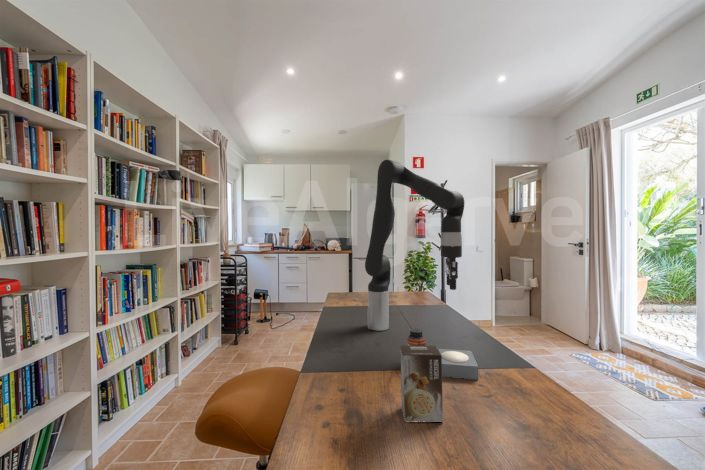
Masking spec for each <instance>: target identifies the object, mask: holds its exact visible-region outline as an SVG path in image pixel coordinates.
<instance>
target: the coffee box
mask: <svg viewBox="0 0 705 470" xmlns="http://www.w3.org/2000/svg"><path fill="white" fill-rule="evenodd" d="M438 349H439V348H437V346H436V345H425V346H408V345H405V344H403V345H401V344H400V393H401V395H400V397H401V401H400V402H401V403H400V404H401V406H400V407H402V408H401V412H403V413H402V417H404V418H403V421H404V420H405V421H418V422H419V421H420V422H423V421H425V422H443V423H444V411H443V410H444V409H443V405H444V404H443V377H442V355H441V354H440V352H439V350H438Z"/></svg>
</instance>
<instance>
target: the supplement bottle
mask: <svg viewBox="0 0 705 470" xmlns="http://www.w3.org/2000/svg"><path fill="white" fill-rule="evenodd" d="M406 339H407V346H426V337H425V336H424V335H423V330H422V329H421V328H410V331H409V335H408V336H407V338H406Z"/></svg>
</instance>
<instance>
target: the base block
mask: <svg viewBox="0 0 705 470" xmlns="http://www.w3.org/2000/svg"><path fill="white" fill-rule="evenodd" d="M437 349H438V350H439V352H440V354H441V355H442V378H450V377H452V379H461V378H464V380H475V381H479V365H478V363H477V361H476V359H475V357H474V354H473V352H472V350H462V349H447V348H437Z"/></svg>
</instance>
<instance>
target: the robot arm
mask: <svg viewBox="0 0 705 470" xmlns="http://www.w3.org/2000/svg"><path fill="white" fill-rule="evenodd" d="M376 184H377V185H376V197H375V204H374V205H375V206H374V211H373V217H372V224H371V226H372V227H371V233H370V238H369V245H368V250H367V252H366V256H365V261H364V269H365V272H366V274H367V275H368V276H369V277H371V280H370V282H369V283H368V285H367V297H368V300H367V303H368V305H367V310H366V311H367V316H366V317H367V329H368V330H372V331H377V332H378V331H386V330H388V329H389V328H390V327H389V321H390V320H389V319H390V317H389V313H390V312H389V308H390V307H389V304H390V303H389V287H390V284H391V262H390V259H389V257H387V256H386V255H384V249H385V245H386V243H387V241H388V239H389V238H390V235H391V233H392V231H393V228H394V224H395V214H396V213H395V208H394V207H395V206H394V203H393V199H392V185H393V184H398V185H402V186H406V187H408V188H409V189H411V190H412V191H413V192H414V193H416V194H417V195H418V196H420V197H422V198H424V199H427V200H429V201H431V202H432V203H433V204H434V205H436V206H437V207H439V208H441V209H443V210H446V213H445V214H446V215H445V216H444V217H442V219H441V235H440V257H441V258H445V262H444V266H445V267H444V268H445V269H444V270H445V271H444V272H445V275H446V285H447V286H449V290H452V291H456V290H457V279H458V277H459V275H458V274H459V271H458V268H459V266H458V265H459V262H458V261H456V260H457V258H462V257H463V254H462V253H463V251H462V250H463V248H462V247H463V241H462V240H463V238H462V218H463V216H464V215H463V214H464V209H465V198H464V197H465V196H463V194H462V193H461V192H459V191H454V190H453V191H452V190H449V189H446V188H444V187H442V186H441V184H439V183H437V182H435V181H433V180H430V179H428V178H426V177H423V176H421V175H419V174H416V173H414V172H413V171H412V170H410V169H408V168H407V167H406V166H405V165H403V164H402V163H400V162H398V161H394V160H391V159H384V160H382V161H381V163H380V164H379V166H378V170H377V182H376Z"/></svg>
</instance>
